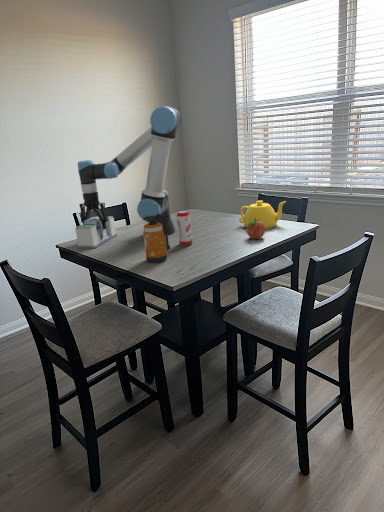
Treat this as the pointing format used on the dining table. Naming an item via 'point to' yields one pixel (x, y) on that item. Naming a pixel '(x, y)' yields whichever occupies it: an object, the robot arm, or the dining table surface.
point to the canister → (155, 238)
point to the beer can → (184, 228)
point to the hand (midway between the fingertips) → (97, 235)
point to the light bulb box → (97, 223)
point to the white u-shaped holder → (94, 235)
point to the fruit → (255, 229)
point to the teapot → (261, 214)
